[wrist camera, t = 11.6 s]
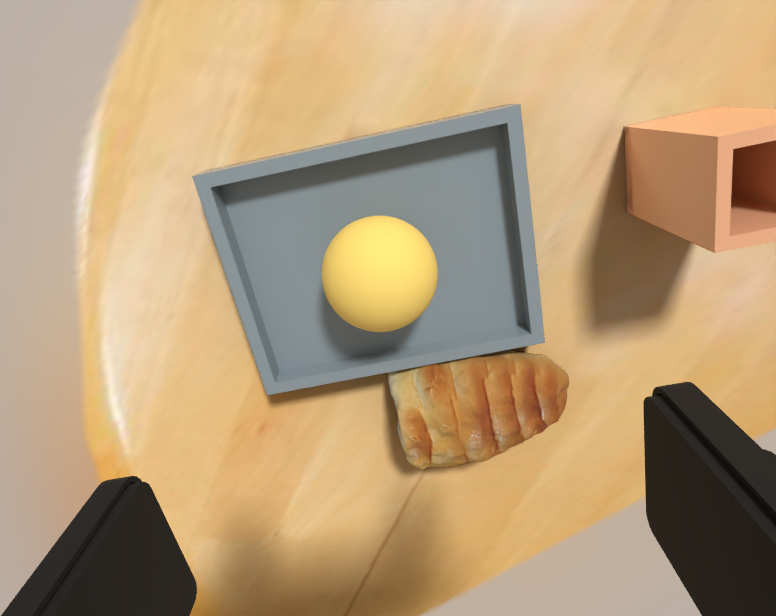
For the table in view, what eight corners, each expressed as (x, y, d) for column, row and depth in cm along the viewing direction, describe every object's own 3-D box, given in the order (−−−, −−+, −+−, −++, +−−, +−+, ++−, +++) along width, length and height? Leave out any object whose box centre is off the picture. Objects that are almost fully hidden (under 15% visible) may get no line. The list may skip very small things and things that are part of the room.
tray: (509, 104, 23) (520, 104, 21) (533, 326, 27) (545, 342, 25) (206, 170, 24) (192, 176, 22) (274, 375, 28) (267, 395, 26)
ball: (423, 195, 24) (430, 219, 19) (441, 295, 25) (451, 340, 21) (317, 216, 24) (298, 245, 19) (342, 314, 26) (331, 361, 21)
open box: (714, 107, 23) (845, 109, 17) (712, 195, 25) (831, 230, 18) (624, 126, 23) (718, 136, 17) (627, 212, 25) (714, 252, 18)
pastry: (553, 317, 27) (579, 351, 24) (565, 422, 30) (590, 467, 26) (379, 354, 28) (379, 392, 24) (405, 454, 30) (409, 501, 27)
